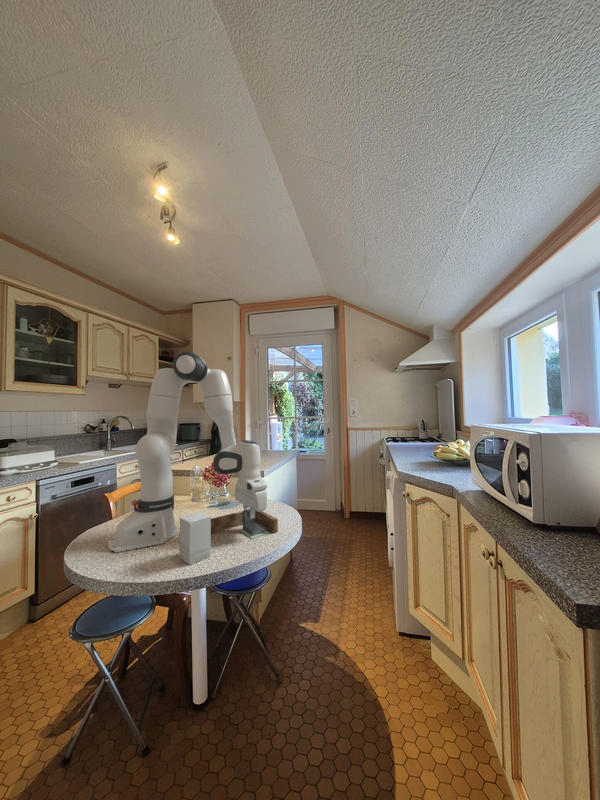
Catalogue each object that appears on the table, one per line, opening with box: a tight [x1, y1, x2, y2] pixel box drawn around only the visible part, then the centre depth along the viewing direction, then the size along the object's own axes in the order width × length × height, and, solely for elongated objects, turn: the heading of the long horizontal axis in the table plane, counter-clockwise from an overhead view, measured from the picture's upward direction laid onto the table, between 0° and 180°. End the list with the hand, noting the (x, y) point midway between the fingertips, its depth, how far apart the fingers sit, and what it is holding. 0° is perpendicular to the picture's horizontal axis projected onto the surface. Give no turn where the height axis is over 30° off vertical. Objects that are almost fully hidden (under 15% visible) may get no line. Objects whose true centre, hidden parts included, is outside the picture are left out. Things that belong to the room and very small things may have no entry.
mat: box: [239, 528, 269, 540], centre depth 111 cm, size 7×10×1 cm
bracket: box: [242, 508, 265, 536], centre depth 111 cm, size 8×5×7 cm, turn 38°
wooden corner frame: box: [211, 510, 279, 534], centre depth 111 cm, size 22×17×5 cm
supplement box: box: [179, 511, 212, 565], centre depth 92 cm, size 7×7×13 cm
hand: (249, 516), depth 114 cm, fingers closed
